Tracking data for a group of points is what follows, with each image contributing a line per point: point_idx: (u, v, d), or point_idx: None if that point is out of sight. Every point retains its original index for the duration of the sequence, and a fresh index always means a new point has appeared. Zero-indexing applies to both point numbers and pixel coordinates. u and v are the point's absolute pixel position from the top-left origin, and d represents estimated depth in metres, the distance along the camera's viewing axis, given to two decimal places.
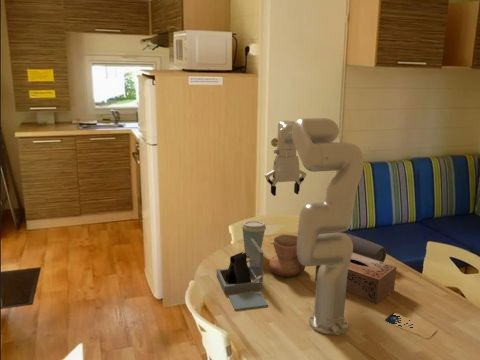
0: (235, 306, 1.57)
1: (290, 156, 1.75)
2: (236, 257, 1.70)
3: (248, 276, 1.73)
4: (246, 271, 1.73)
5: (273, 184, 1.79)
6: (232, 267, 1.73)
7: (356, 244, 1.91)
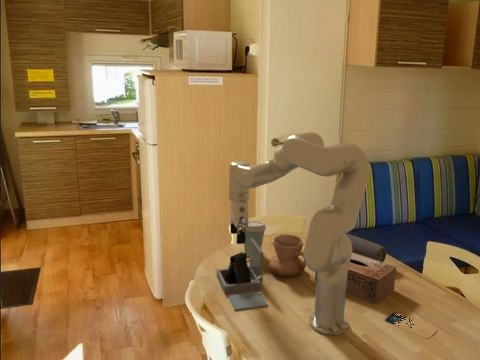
0: (235, 306, 1.57)
1: None
2: (236, 257, 1.70)
3: (248, 276, 1.73)
4: (246, 271, 1.73)
5: None
6: (232, 267, 1.73)
7: (356, 244, 1.91)
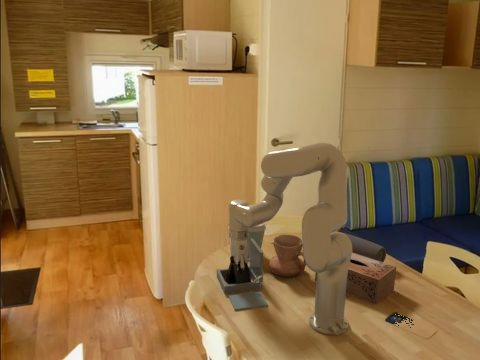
0: (235, 306, 1.57)
1: None
2: None
3: (248, 276, 1.73)
4: (246, 271, 1.73)
5: None
6: (232, 267, 1.73)
7: (356, 244, 1.91)
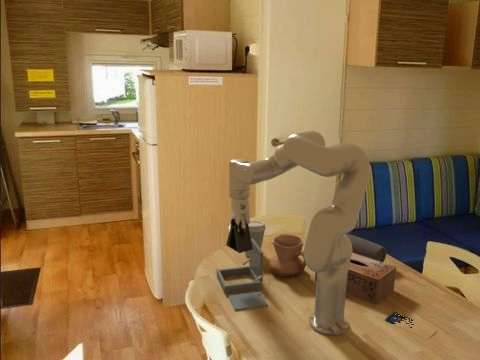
0: (235, 306, 1.57)
1: None
2: None
3: (249, 241, 1.69)
4: (247, 235, 1.69)
5: (244, 229, 1.67)
6: (233, 230, 1.69)
7: (356, 244, 1.91)
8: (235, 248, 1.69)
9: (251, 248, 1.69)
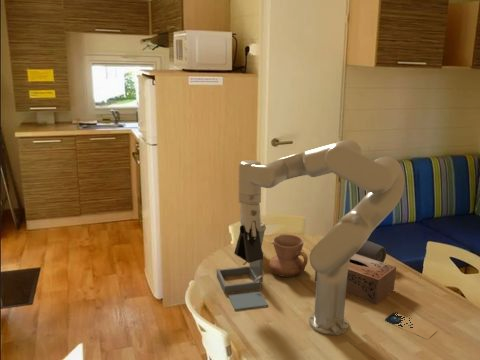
0: (235, 306, 1.57)
1: None
2: None
3: (259, 249, 1.55)
4: (257, 243, 1.55)
5: None
6: (242, 238, 1.55)
7: None
8: (244, 257, 1.56)
9: (261, 257, 1.55)
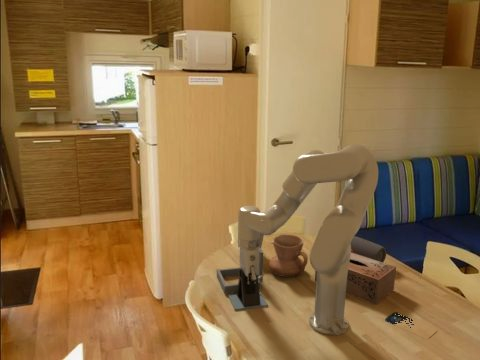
0: (235, 306, 1.57)
1: None
2: None
3: (257, 295, 1.59)
4: (255, 289, 1.59)
5: (254, 281, 1.56)
6: None
7: (356, 244, 1.91)
8: (242, 300, 1.61)
9: (258, 303, 1.59)
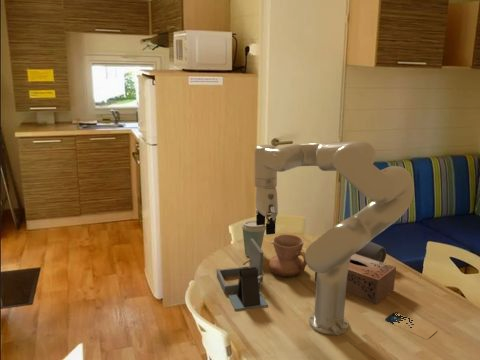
0: (235, 306, 1.57)
1: None
2: (244, 271, 1.57)
3: (257, 295, 1.59)
4: (255, 289, 1.59)
5: (274, 221, 1.52)
6: None
7: None
8: (242, 300, 1.61)
9: (258, 303, 1.59)
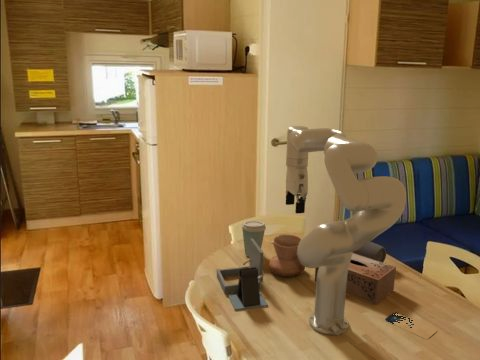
0: (235, 306, 1.57)
1: None
2: (244, 271, 1.57)
3: (257, 295, 1.59)
4: (255, 289, 1.59)
5: None
6: None
7: None
8: (242, 300, 1.61)
9: (258, 303, 1.59)
